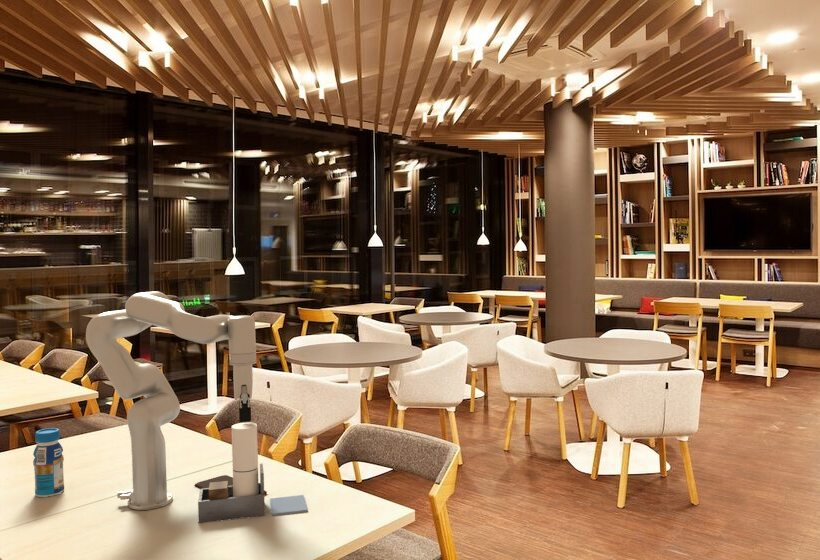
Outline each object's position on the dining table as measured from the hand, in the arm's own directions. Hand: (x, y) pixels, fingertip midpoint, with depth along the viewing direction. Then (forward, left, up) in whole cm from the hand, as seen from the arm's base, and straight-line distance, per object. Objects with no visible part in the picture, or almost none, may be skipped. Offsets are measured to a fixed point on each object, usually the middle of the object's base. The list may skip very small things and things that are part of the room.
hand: (245, 417), depth 189 cm
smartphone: (-5, +19, -28) cm, 35 cm away
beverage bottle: (-60, +33, -28) cm, 74 cm away
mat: (+12, 0, -27) cm, 30 cm away
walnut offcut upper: (-8, 0, -23) cm, 24 cm away
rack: (-4, 0, -27) cm, 28 cm away
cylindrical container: (0, 0, -28) cm, 28 cm away
